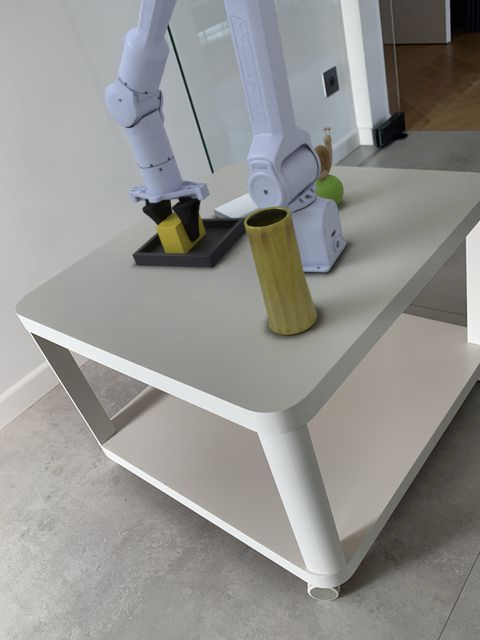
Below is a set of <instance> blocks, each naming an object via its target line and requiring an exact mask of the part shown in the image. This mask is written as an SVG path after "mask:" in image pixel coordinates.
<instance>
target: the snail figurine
mask: <svg viewBox="0 0 480 640" xmlns="http://www.w3.org/2000/svg"><path fill="white" fill-rule="evenodd" d="M331 130H332V129H331V127H330V126H328V127H326V126H324V127H323V131H324V132H327V131H328V133H329V134H327V133H325V135H324V137H323V143H324V145H321V144H319V145H317V146H315V147H313V148H314V150H315V151H316V153H317V155H318V157H319V159H320V163H321V172H320V175H319V177H318V179H317V180H316V181H315V183H316V188H317V190H316V191H315V192H316V195H317V196H319V197H322V198H325V199H332V200H334V201H335V203H336V204H337V205H339V203H341V201H342V200H343V197H344V192H345V191H344V185H343V182H342V181H341V180H340V179H339V178H338V177H337V176H336V175H334V174H330V172H331V169H332V167H333V146H332V139H333V137H332V136H331Z"/></svg>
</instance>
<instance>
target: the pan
mask: <svg viewBox="0 0 480 640" xmlns="http://www.w3.org/2000/svg"><path fill="white" fill-rule="evenodd" d="M245 219H246V218H218V217H215V218H213V217H211V218H210V217H209V218H201V220H202V223H203V226H204V229H205V232H206V234H205V235H204V236H203V237H202V238H201V239H200V240H199V241H198V242H197V243H196V244H195V245H194V246H193V247H192V248H191V249H190V250H189V251H188V252H187V253H165V250H164V247H163V245H162V242H161V240H160V237H159V235H158V232H157V231H156V233H155V234H153V236H151V237H150V239H148V240H146V242H145V243H143V244H142V245H141V246H140V247H139V248H138V249H137V250H136V251H134V252H133V253H132V255H131V256H132V258H133V260H134V262H135V265H136V266H161V267H190V268H192V267H194V268H214V266H215V265H217V263H218V262H219V261H220V260H221V259H222V257H223V256H225V254H226V253H228V251H229V250H230V249H231V248H232V247H233V246H234V245H235V244H236V242H237V241H238V240H239V239H240V238H241V237H242V236H243V235H244V234H245V233H246V229H245V225H244V221H245Z"/></svg>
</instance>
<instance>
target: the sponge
mask: <svg viewBox="0 0 480 640" xmlns="http://www.w3.org/2000/svg"><path fill="white" fill-rule="evenodd" d="M172 212H173V213H172V214H171V215H169V216H168V217H167V218H166V219H165V220H164V221H163V222H161V223H160V224H159V225H156V227H155V230H156V233H157V232H158V235H159V237H160V240H161V242H162V245H163V247H164V250H165V253H187V252H188V251H189V250H190V249H191V248H192V247H193V246H194V245H195V244H196V243H197V242H198V241H199V240H200V239H201V238H202V237H203V236H204V235H205V234H206V232H205V229H204V226H203V223H202V220H201V219H202V217H201V214H200V213H199V232H200V237H199V238H198V239H197V240H196V241H195V242H191V241H190V239H189V237H188V235H187V233H186V231H185V228H184V226H183V224H182V222H181V220H180V219H179V217H178V216H177V214H176V213H175V212H174V211H172Z"/></svg>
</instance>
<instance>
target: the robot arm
mask: <svg viewBox="0 0 480 640" xmlns="http://www.w3.org/2000/svg"><path fill="white" fill-rule="evenodd" d="M177 1H178V0H140V7H139V16H138V21H137V26H135V27H132V28H130V29H129V30H128V31H127V33H126V34H124V35H123V37H122V42H121V44H122V45H123V50H122V53H121V54H122V55H121V59H120V65H119V67H118V70H117V77H116V78H115V79H114V81H113V83H110V84H108V85H107V86H106V87H105V89H104V103H105V106H106V109H107V111H108V113H109V115H110V116H111V118H112V119H113V120H114V121H115V122H116V123H117V124H118V125H120V126H122V127H123V129H124V132H125V134H126V138H127V140H128V142H129V145H130V148H131V150H132V152H133V155H134V157H135V160H136V164H137V165H138V169H139V170H140V174H141V176H142V180H143V182H144V184H145V185H140V186H134V187H133V188H132V189H130V190H129V191H128V195H129V197H130V200H131V202H132V203H133V204H134V203H135V204H136V203H139V202H142V201H143V202H145V205H144V206H143V207H142V209H141V211H142V213H143V214H145V215H146V216H147V217H148V218H149V219H151V220H152V221H153V222H154V223H155V225H156V226H158V225H159V224H160V223H161V222H163V221H164V220H165V219H166V218H167V217H168V216H169V215H171V214H172V213H173V212H175V213H176V214H177V216H178V217H179V219H180V220H181V222H182V224H183V226H184V228H185V231H186V233H187V235H188V237H189V239H190V241H191V242H195V241H196V240H197V239H198V238H199V237H200V232H199V214H200V208H201V201H204V200H206V199H207V198H208V197H209V196H210V194H211V193H210V190H209V187H208V184H207V182H195V181H190V180H183V179H182V178H183V177H182V175H181V172H180V170H179V166H178V163H177V160H176V157H175V154H174V151H173V149H172V146H171V143H170V140H169V136H168V134H167V131H166V127H165V125H164V123H165V115H164V112H163V106H164V94H163V91H162V90H161V89H160V86H161V82H162V79H163V75H164V72H165V68H166V65H167V61H168V58H169V55H170V46H169V43H168V41H167V39H166V37H165V36H166V33H167V29H168V27H169V24H170V21H171V18H172V15H173V14H174V13H173V12H174V10H175V7H176V4H177ZM223 3H224V9H225V13H226V19H227V23H228V26H229V32H230V36H231V41H232V45H233V49H234V53H235V59H236V64H237V67H238V68H237V69H238V72H239V77H240V81H241V85H242V90H243V93H244V94H243V95H244V99H245V104H246V108H247V112H248V118H249V122H250V126H251V130H252V135H253V137H252V142H251V145H250V147H249V151H248V154H247V157H246V163H247V166H248V176H247V181H246V183H247V184H246V186H247V191H248V193H249V194H250V197H251V198H252V200H253V202H254V203H255V204H256V205H257V206H258V207H259V208H260V209H263V208H267V207H274V206H279V207H285V208H287V209H288V210H289V211H290V213H291V216H292V220H293V225H294V230H295V234H296V239H297V243H298V247H299V252H300V256H301V261H302V267H303V271H304V273H329V272H330V270H331V268H332V267H333V265H334V264H335V262H336V261H337V259H338V258H339V257H340V256H341V254H342V252H343V251H344V249H345V248H346V246H347V241H345V240H344V235H343V234H344V233H343V229H342V223H341V217H340V213H339V207H338V204H336V203H335V201H334V200H332V199H325V198H322V197H319V196H317V195H316V192H315V191H316V190H317V188H316V183H315V181H316V180H317V179H318V177H319V175H320V172H321V163H320V159H319V157H318V155H317V153H316V151H315V150H314V148H315V147H314V146H313V143H312V140H311V139H312V138H311V134H310V132H309V131H308V130H306V129H304V128H301V127H299V126H297V125H296V118H295V114H294V108H293V101H292V96H291V91H290V84H289V77H288V72H287V66H286V61H285V56H284V55H285V54H284V49H283V44H282V37H281V31H280V25H279V20H278V14H277V9H276V3H275V0H223ZM172 200H178V201H177V202H176V203H175V204H174V205H173V206H172Z"/></svg>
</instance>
